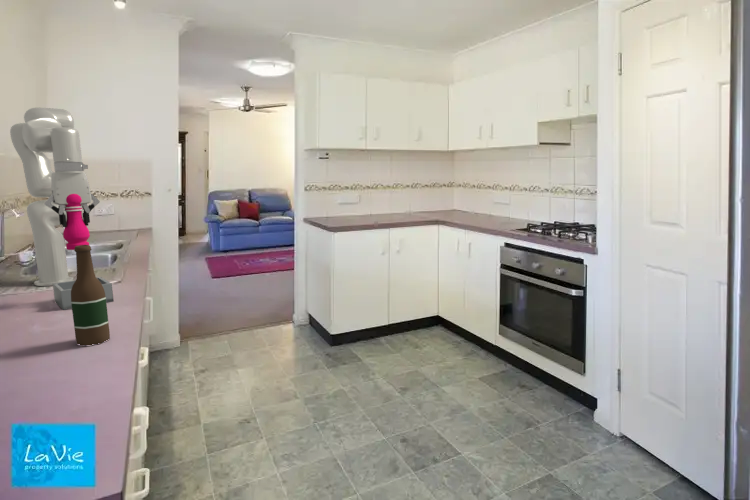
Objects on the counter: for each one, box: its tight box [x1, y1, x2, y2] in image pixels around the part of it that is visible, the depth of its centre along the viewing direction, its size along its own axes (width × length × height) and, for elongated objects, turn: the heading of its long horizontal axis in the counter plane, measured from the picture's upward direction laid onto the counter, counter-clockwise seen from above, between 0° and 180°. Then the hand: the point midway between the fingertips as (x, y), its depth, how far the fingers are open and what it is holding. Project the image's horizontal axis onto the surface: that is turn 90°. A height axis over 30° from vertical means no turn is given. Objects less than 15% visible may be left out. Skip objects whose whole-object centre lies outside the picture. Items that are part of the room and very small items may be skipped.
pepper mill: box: [62, 194, 91, 251], centre depth 151 cm, size 7×7×20 cm
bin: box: [52, 276, 114, 311], centre depth 155 cm, size 14×14×6 cm
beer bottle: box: [71, 244, 111, 346], centre depth 116 cm, size 8×8×24 cm
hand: (75, 225), depth 151 cm, fingers closed on pepper mill, 5 cm apart
